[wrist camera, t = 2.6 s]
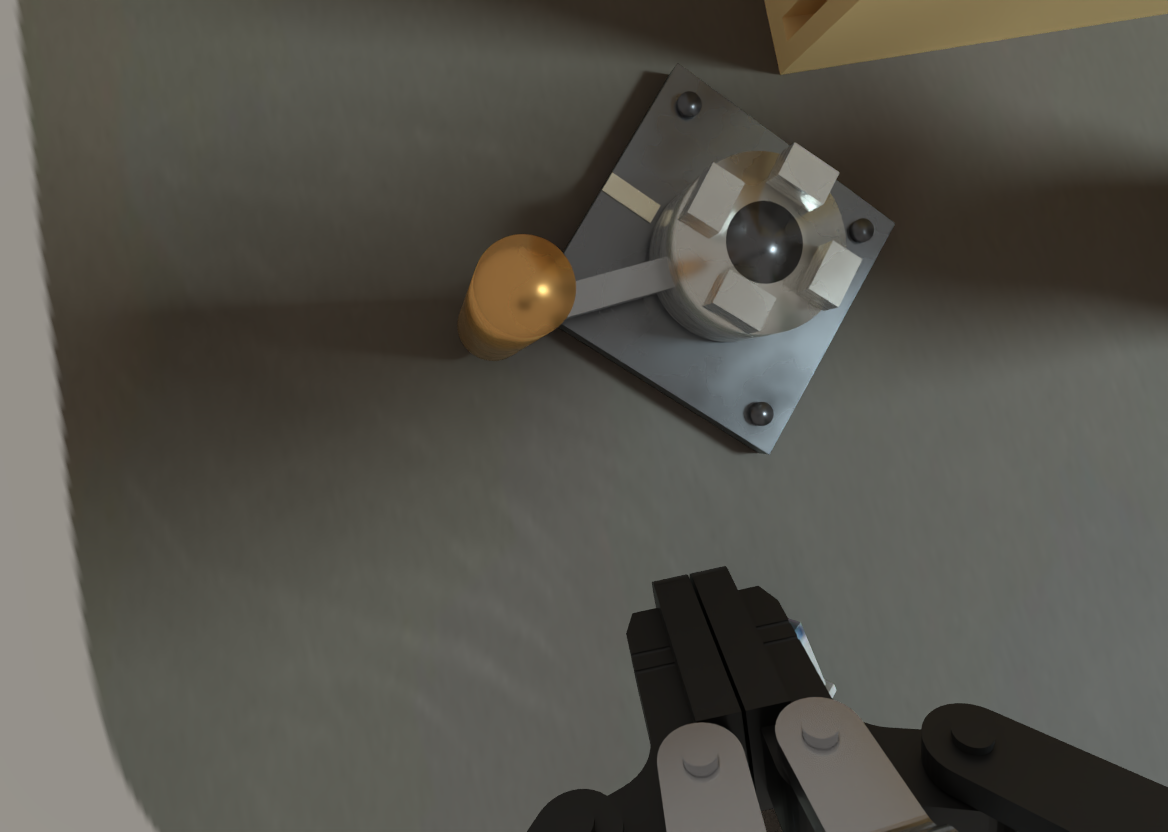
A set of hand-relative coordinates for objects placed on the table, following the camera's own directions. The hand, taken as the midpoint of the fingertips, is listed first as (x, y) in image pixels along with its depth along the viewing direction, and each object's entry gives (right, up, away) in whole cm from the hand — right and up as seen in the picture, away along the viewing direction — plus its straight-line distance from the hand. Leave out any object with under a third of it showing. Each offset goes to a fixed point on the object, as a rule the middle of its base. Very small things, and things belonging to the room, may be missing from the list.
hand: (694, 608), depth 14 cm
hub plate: (+5, +12, +23) cm, 26 cm away
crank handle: (0, +10, +20) cm, 23 cm away
